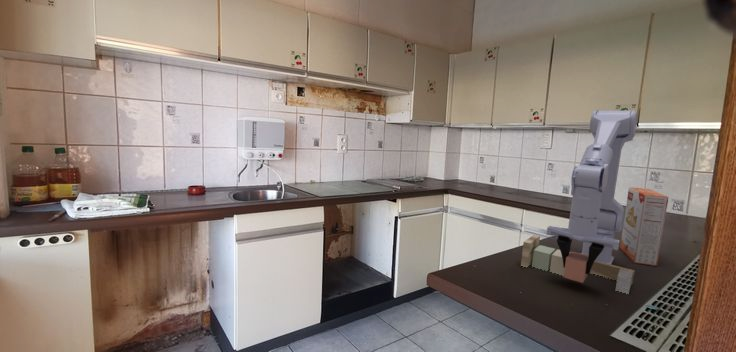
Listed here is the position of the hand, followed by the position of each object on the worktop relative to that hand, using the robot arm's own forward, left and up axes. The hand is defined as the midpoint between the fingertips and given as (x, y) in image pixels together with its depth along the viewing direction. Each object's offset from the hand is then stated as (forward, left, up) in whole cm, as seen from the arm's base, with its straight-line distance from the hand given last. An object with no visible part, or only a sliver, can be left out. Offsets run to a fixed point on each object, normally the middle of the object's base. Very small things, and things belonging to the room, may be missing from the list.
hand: (576, 269), depth 81 cm
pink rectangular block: (0, 0, -2) cm, 2 cm away
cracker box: (-38, +10, -4) cm, 40 cm away
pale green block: (-7, -9, -4) cm, 12 cm away
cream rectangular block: (-7, -5, -4) cm, 10 cm away
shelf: (-8, -1, -4) cm, 9 cm away
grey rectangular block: (-7, +9, -4) cm, 12 cm away
